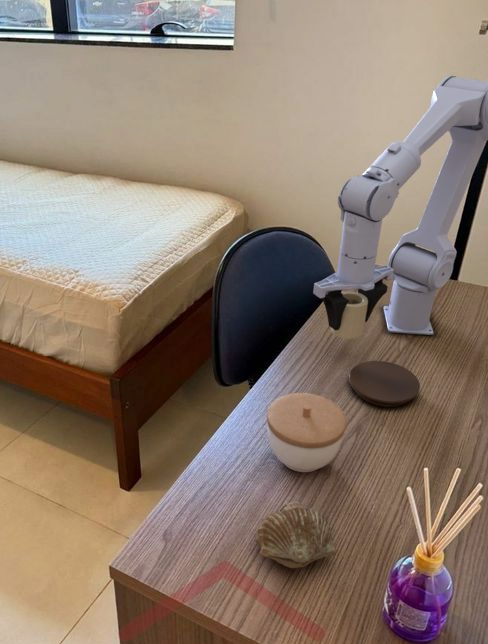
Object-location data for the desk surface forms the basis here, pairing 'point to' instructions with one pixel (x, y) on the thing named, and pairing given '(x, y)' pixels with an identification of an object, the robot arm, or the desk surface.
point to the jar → (352, 316)
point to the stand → (383, 383)
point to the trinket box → (305, 430)
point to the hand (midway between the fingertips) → (347, 323)
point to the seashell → (295, 536)
